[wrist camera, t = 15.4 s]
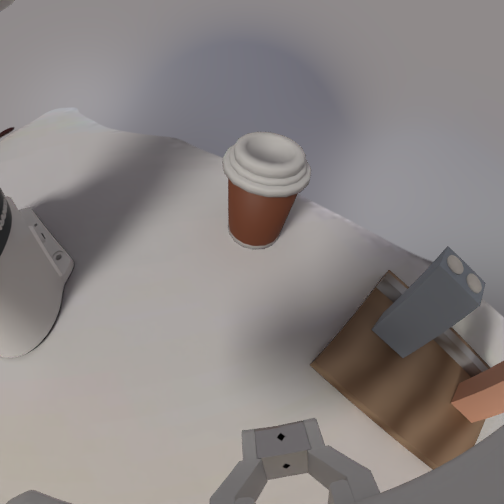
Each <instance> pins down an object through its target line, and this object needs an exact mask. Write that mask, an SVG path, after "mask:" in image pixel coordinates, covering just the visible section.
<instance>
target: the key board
mask: <svg viewBox="0 0 504 504" xmlns="http://www.w3.org/2000/svg"><path fill="white" fill-rule="evenodd" d="M408 288H409V287H408V286H407V285H406V284H405V283H403V282H402V281H401V280H400V279H399V278H398V277H397V276H396V275H394V274H393V273H392V272H391V271H390V270H388V272H387V273H386V274H385V275H384V276H383V278H382V279H381V280H380V282H379V283H378V284H377V286H376V287H375V288H374V290H373V291H372V292H371V294H370V295H369V296H368V297H367V299H366V300H365V301H364V303H363V304H362V305H361V306H360V308H359V309H358V310H357V311H356V313H355V314H354V315H353V316H352V317H351V319H350V320H349V321H348V322H347V323H346V325H345V326H344V327H343V328H342V329H341V331H340V332H339V333H338V334H337V335H336V336H335V338H334V339H333V340H332V341H331V342H330V343H329V344H328V346H327V347H326V348H325V349H324V350H323V351H322V352H321V353H320V354H319V356H318V357H317V358H316V359H315V360H314V361H313V362H312V363H311V364H310V366H311V367H313V368H314V369H315V370H316V371H317V372H318V373H319V374H320V375H321V376H323V377H324V378H325V379H326V380H327V381H328V382H329V383H330V384H331V385H333V386H334V387H335V388H336V389H337V390H338V391H339V392H340V393H342V394H343V395H344V396H345V397H346V398H347V399H348V400H350V401H351V402H352V403H353V404H354V405H355V406H356V407H358V408H359V409H360V410H361V411H362V412H363V413H365V414H366V415H367V416H368V417H369V418H370V419H372V420H373V421H374V422H375V423H376V424H377V425H379V426H380V427H381V428H382V429H383V430H385V431H386V432H387V433H388V434H389V435H391V436H392V437H393V438H394V439H395V440H397V441H398V442H399V443H400V444H402V445H403V446H404V447H405V448H406V449H408V450H409V451H410V452H411V453H413V454H414V455H415V456H416V457H418V458H419V459H420V460H421V461H423V462H424V463H425V464H427V465H428V466H429V467H430V468H432V469H433V470H434V469H435V468H437V467H439V466H441V465H443V464H445V463H447V462H448V461H450V460H452V459H454V458H455V457H457V456H459V455H460V454H462V453H464V452H465V451H467V450H468V449H470V448H472V447H473V446H474V445H475V443H476V441H477V438H478V436H479V434H480V431H481V429H482V426H483V424H484V421H485V419H483V420H480V421H477V422H473V423H471V422H470V421H469V420H468V419H467V418H466V417H465V416H464V415H463V414H462V413H461V412H460V411H459V410H458V409H456V408H455V407H454V406H453V405H452V404H451V401H452V399H453V396H454V394H455V392H456V390H457V387H458V385H459V383H461V382H463V381H465V380H467V379H469V378H471V377H474V376H476V375H478V374H480V373H482V372H484V371H486V370H488V369H490V367H489V366H488V365H487V364H486V363H485V362H484V360H483V359H482V358H481V357H480V356H479V355H478V354H477V353H476V352H475V351H474V350H473V349H472V348H471V347H470V346H469V345H468V344H467V343H466V342H465V341H464V340H463V339H462V338H461V336H460V335H459V334H458V333H457V332H456V331H455V330H454V329H453V328H451V327H450V328H449V329H448V330H446V331H445V332H443V333H442V334H440V335H439V336H437V337H436V338H434V339H433V340H431V341H430V342H428V343H427V344H425V345H424V346H422V347H421V348H419V349H417V350H416V351H414V352H412V353H411V354H409V355H408V356H406V357H404V358H402V357H401V356H400V355H399V354H398V353H397V352H395V351H394V350H393V349H392V348H391V347H390V346H389V345H388V344H387V343H386V342H384V341H383V340H382V339H381V338H380V337H379V336H378V335H377V334H376V333H374V332H373V331H372V330H371V329H372V328H373V327H374V325H375V324H376V322H377V321H378V320H379V318H380V317H381V315H382V314H383V312H384V311H385V310H387V309H388V308H389V307H390V306H391V305H392V304H393V303H394V302H395V301H396V300H397V299H398V298H399V297H400V296H401V295H402V294H403V293H404V292H405V291H406V290H407V289H408Z"/></svg>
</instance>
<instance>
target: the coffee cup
mask: <svg viewBox="0 0 504 504" xmlns="http://www.w3.org/2000/svg"><path fill="white" fill-rule="evenodd" d="M305 156H306V155H305V153H304V152H303V150H302V148H301V147H300V146H299V145H298V144H297V143H296V142H294V141H293V140H291V139H289V138H287V137H285V136H283V135H279V134H275V133H270V132H254V133H249V134H246V135H244V136H243V137H241V138H239V139H238V141H237V142H236V144H235V145H233V146H231V147H230V148H228V150H227V152H226V153H225V155H224V157H223V162H222V163H223V169H224V174H225V175H226V176H227V177H228V213H229V223H228V228H229V234H230V236H231V237H232V238H233V240H234V241H235V242H236V243H238V244H239V245H241V246H243V247H246V248H249V249H265V248H267V247H269V246H272V245H273V244H274V243H275V242H276V240H277V239H278V236H279V234H280V232H281V229H282V227H283V225H284V223H285V221H286V218H287V216H288V214H289V212H290V209H291V207H292V205H293V203H294V201H295V198H296V196H297V194H298V193H300V192H301V191H302V190H303V189H304V188H305V187H306V186H307V185H308V184H309V181H310V176H311V168H310V166H309V164H308V162H307V160H306V159H305Z"/></svg>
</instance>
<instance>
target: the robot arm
mask: <svg viewBox="0 0 504 504" xmlns="http://www.w3.org/2000/svg"><path fill="white" fill-rule="evenodd" d="M14 1H15V0H0V12H1V11H2V10H3V9H5V8H7V7H8V6H9V5H11V4H12V3H13V2H14ZM60 258H61V259H60ZM59 259H60V260H59ZM73 267H74V262H73V260H72V258H71V257H70V256H69V255H68V253H67V252H66V251H65V250H64V249H63V248H62V247H61V245H60V244H59V243H58V242H57V241H56V239H55V238H54V237H53V236H52V235H51V233H50V232H49V231H48V230H47V228H46V227H45V226H44V225H43V223H42V222H41V221H40V219H39V218H38V217H37V216H36V214H35V213H34V212H33V210H32V209H31V208H25V209H21V210H18V209H17V207H16V205H15V204H14V202H13V200H12V198H10V197H5V195H4V193H3V191H2V190H1V188H0V356H1V357H5V358H14V357H18V356H21V355H24V354H26V353H28V352H29V351H31V350H32V349H34V348H35V347H36V346H37V345H38V344H39V343H40V342H41V341H42V340H43V339H44V338H45V337H46V335H47V334H48V332H49V331H50V329H51V328H52V326H53V324H54V322H55V320H56V317H57V315H58V312H59V309H60V305H61V299H62V293H63V288H64V284H65V282H66V281H67V279H68V277H69V275H70V274H71V272H72V269H73ZM242 452H243V461H239V462H238V464H237V465H236V466H235V468H234V469H233V470H232V472H231V473H230V474H229V475H228V477H227V478H226V479H225V480H224V482H223V483H222V484H221V485H220V487H219V488H218V489H217V490H216V492H215V493H214V494H213V495H212V496H211V498H210V504H256V503H255V502H256V500H257V499H258V497H259V495H260V493H261V492H262V490H263V488H264V486H265V485H266V483H267V480H270V479H276V478H281V477H286V476H292V475H298V474H304V473H309V474H310V475H311V476H312V477H314V478H315V479H316V480H317V481H318V482H320V483H321V484H322V485H323V486H325V487H326V488H327V489H328V490H329V497H328V504H504V425H503V426H501V427H500V428H499V429H497V430H496V431H495V432H493V433H492V434H491V435H489V436H488V437H486V438H485V439H484V440H482V441H481V442H479V443H478V444H476V445H475V446H473V447H472V448H470V449H468V450H467V451H465V452H464V453H462V454H460V455H459V456H457V457H455V458H454V459H452V460H450V461H448V462H447V463H445V464H443V465H441V466H439V467H437V468H435V469H434V470H432V471H430V472H428V473H426V474H424V475H422V476H419V477H417V478H415V479H413V480H411V481H409V482H406V483H404V484H402V485H399V486H397V487H395V488H392V489H390V490H387V491H384V492H382V493H380V491H379V489H378V486H377V484H376V482H375V480H374V477H373V475H372V473H371V470H369V469H367V468H366V467H364V466H362V465H360V464H359V463H357V462H355V461H354V460H352V459H350V458H348V457H347V456H345V455H344V454H342V453H340V452H339V451H337V450H335V449H334V448H332V447H331V446H329V445H328V446H325V444H324V441H323V438H322V435H321V432H320V429H319V426H318V423H317V420H316V419H315V418H312V419H308V420H303V421H298V422H293V423H288V424H283V425H279V426H273V427H266V428H258V429H251V430H242ZM6 504H72V503H69V502H66V501H62V500H60V499H57V498H54V497H51V496H48V495H46V494H43V493H41V492H38V491H35V490H29V491H26V492H24V493H22V494H20V495H18V496H16V497H14V498H12V499H11V500H9V501H8V502H7V503H6Z"/></svg>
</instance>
